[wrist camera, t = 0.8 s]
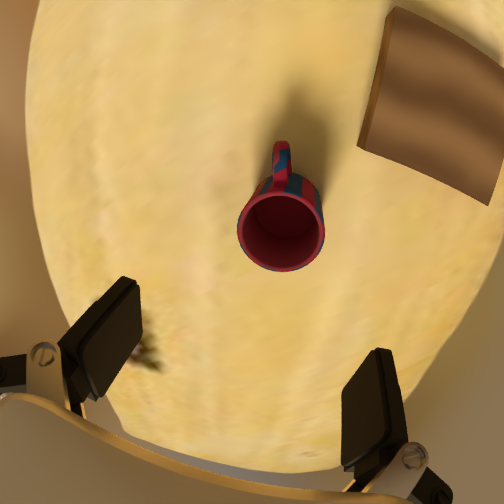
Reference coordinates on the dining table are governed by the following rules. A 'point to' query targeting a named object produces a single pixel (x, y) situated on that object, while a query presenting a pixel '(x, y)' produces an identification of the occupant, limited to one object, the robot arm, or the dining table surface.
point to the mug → (282, 218)
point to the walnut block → (436, 106)
